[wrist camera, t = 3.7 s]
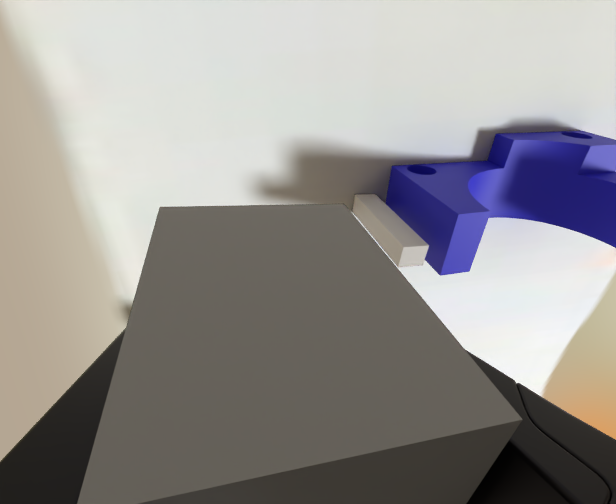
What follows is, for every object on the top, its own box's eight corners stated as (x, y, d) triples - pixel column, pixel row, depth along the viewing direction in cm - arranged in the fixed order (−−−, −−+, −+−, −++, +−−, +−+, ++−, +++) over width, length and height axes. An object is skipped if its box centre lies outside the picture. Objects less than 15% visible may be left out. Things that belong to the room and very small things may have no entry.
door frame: (338, 372, 27) (366, 441, 22) (324, 374, 26) (348, 445, 22) (375, 194, 19) (429, 245, 14) (355, 194, 19) (403, 247, 14)
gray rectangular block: (324, 330, 10) (421, 570, 6) (180, 347, 9) (152, 658, 4) (343, 204, 8) (522, 419, 3) (159, 207, 7) (73, 518, 2)
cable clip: (579, 130, 20) (697, 162, 15) (547, 200, 23) (642, 247, 18) (395, 136, 18) (469, 177, 13) (382, 215, 20) (440, 275, 15)
